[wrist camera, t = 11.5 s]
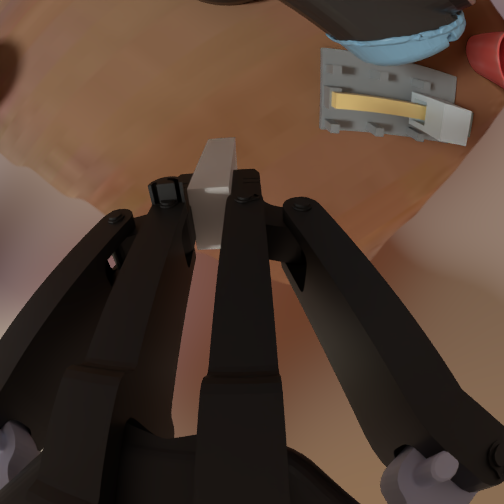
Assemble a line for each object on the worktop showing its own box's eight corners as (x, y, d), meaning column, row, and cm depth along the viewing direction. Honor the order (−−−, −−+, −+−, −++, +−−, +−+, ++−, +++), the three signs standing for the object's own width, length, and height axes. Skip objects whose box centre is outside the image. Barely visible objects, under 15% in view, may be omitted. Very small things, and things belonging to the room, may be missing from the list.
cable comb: (320, 48, 30) (335, 46, 24) (453, 76, 29) (479, 83, 24) (319, 127, 37) (331, 140, 32) (445, 141, 37) (468, 156, 32)
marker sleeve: (412, 91, 30) (444, 103, 24) (438, 97, 30) (471, 111, 24) (408, 123, 34) (439, 140, 27) (434, 127, 33) (465, 146, 27)
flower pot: (478, 94, 30) (515, 109, 23) (449, 41, 26) (489, 47, 18) (504, 68, 26) (540, 80, 18) (478, 18, 21) (516, 22, 13)
